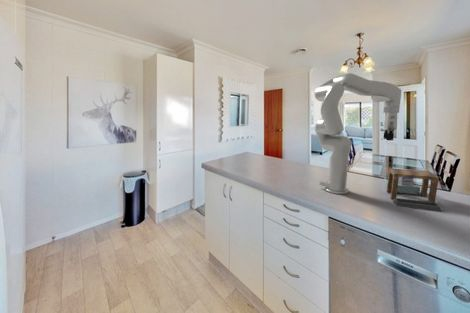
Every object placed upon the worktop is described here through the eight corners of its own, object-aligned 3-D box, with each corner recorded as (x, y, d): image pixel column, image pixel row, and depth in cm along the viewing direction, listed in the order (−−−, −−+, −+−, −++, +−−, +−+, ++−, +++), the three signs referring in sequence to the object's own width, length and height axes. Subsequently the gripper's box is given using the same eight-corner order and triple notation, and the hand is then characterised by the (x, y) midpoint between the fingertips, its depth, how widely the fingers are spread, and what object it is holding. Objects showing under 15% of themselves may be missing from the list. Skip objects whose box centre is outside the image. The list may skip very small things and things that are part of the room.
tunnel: (391, 199, 109) (394, 173, 107) (386, 191, 121) (389, 168, 119) (434, 204, 102) (438, 177, 100) (425, 195, 114) (428, 171, 111)
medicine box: (400, 192, 119) (402, 177, 118) (393, 190, 124) (395, 175, 122) (412, 191, 121) (414, 176, 119) (404, 188, 125) (406, 174, 124)
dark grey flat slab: (396, 205, 102) (396, 201, 101) (393, 201, 107) (394, 197, 107) (440, 211, 95) (441, 207, 94) (435, 206, 100) (435, 202, 100)
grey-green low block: (392, 191, 120) (393, 179, 119) (384, 180, 142) (385, 169, 141) (419, 194, 115) (420, 182, 113) (406, 182, 137) (407, 171, 136)
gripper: (402, 109, 117) (399, 141, 120) (395, 110, 132) (392, 138, 135) (386, 110, 120) (383, 140, 123) (381, 111, 135) (378, 138, 138)
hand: (388, 139), depth 129 cm, fingers open, 9 cm apart
